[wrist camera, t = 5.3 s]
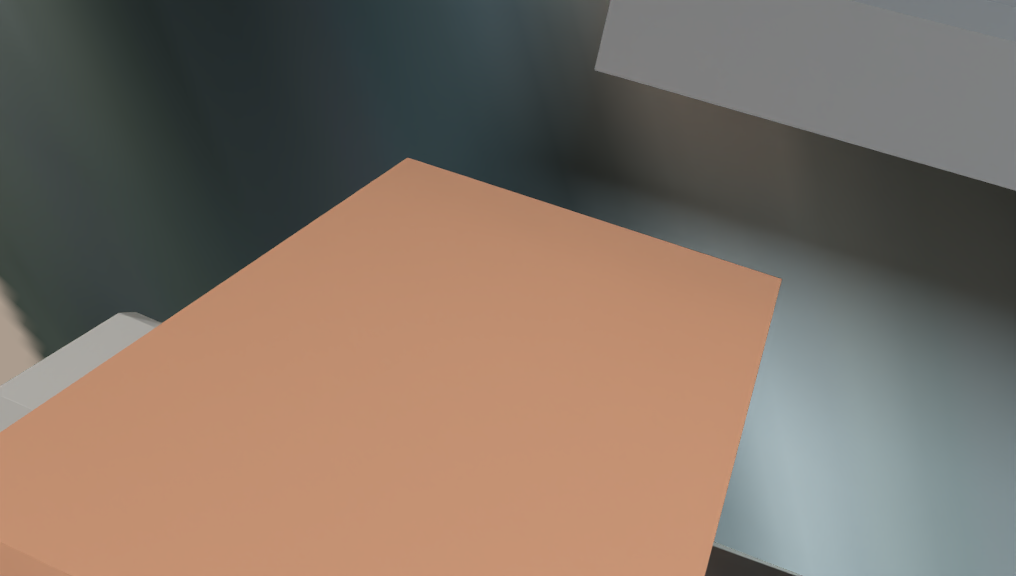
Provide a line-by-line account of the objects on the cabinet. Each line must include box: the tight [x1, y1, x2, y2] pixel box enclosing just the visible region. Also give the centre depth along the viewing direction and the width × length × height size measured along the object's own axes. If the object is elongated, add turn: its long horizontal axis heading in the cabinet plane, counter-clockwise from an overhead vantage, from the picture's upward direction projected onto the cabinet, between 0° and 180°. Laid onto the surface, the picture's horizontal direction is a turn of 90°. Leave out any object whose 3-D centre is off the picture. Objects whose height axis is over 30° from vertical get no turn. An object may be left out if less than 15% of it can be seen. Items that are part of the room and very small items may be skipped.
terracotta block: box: [0, 158, 782, 576], centre depth 8 cm, size 4×4×6 cm
